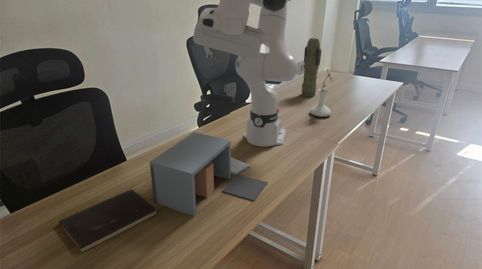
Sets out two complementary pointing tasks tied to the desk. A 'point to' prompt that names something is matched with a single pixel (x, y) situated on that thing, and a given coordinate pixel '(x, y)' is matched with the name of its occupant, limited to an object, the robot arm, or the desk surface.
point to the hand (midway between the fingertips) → (223, 62)
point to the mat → (245, 187)
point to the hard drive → (238, 166)
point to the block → (205, 181)
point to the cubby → (187, 169)
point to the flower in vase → (322, 102)
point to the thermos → (311, 67)
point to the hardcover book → (107, 219)
